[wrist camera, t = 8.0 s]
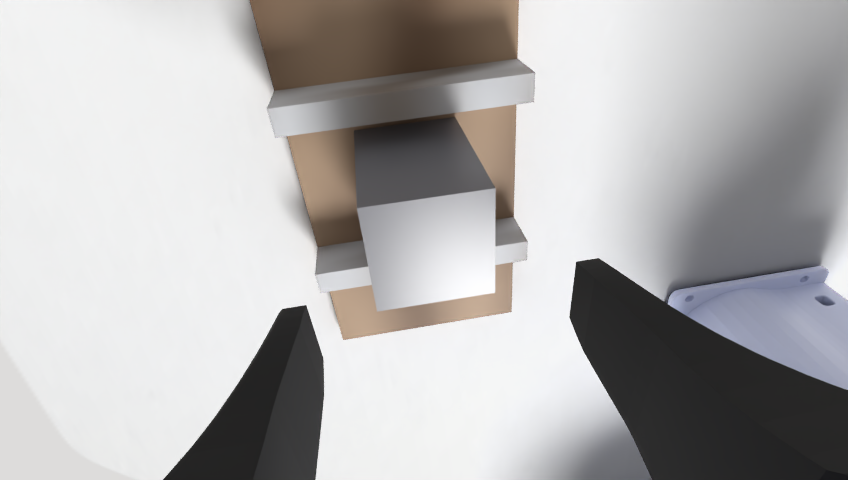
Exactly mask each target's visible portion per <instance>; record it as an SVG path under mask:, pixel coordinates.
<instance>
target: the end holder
mask: <svg viewBox="0 0 848 480" xmlns="http://www.w3.org/2000/svg"><path fill="white" fill-rule="evenodd" d="M250 4H251V7H252V11H253V14H254V18H255V22H256V25H257V29H258V33H259V36H260V40H261V43H262V47H263V51H264V54H265V58H266V62H267V65H268V69H269V72H270V76H271V80H272V83H273V87H274V93H273V96H272V98H271V100H270V103H269V105H268V107H267V111H268V115H269V118H270V122H271V125H272V128H273V132H274V135H275V138H278V137H285V136H287V138H288V141H289V145H290V149H291V152H292V156H293V160H294V163H295V167H296V170H297V174H298V178H299V181H300V185H301V189H302V192H303V196H304V199H305V203H306V207H307V210H308V214H309V218H310V221H311V225H312V229H313V232H314V236H315V239H316V243H317V247H318V249H317V260H316V272H315V276H316V279H317V283H318V286H319V290H320V293H324V292H330V294H331V297H332V301H333V305H334V308H335V312H336V316H337V319H338V323H339V326H340V330H341V334H342V337H343V340H346V339H352V338H358V337H364V336H370V335H376V334H382V333H388V332H394V331H400V330H406V329H412V328H418V327H424V326H430V325H436V324H442V323H448V322H454V321H460V320H466V319H472V318H478V317H484V316H490V315H496V314H502V313H508V312H511V307H512V264H513V262H518V261H524V260H527V243H528V241H527V240H526V238H525V236H524V234H523V233H522V231H521V229H520V227H519V226H518V224H517V222H516V220H515V219H514V179H515V136H516V104H523V103H530V102H534V89H535V72H534V71H532V70H531V69H530V68H529V67H527V66H526V65H525V64H523V63H522V62H521V61H520V60H518V59H517V50H518V7H519V0H250ZM451 117H456V119H457V121H458V123H459V124H460V126H461V128H462V130H463V132H464V133H465V135H466V137H467V139H468V140H469V142H470V144H471V146H472V147H473V149H474V151H475V153H476V155H477V156H478V158H479V160H480V162H481V163H482V165H483V167H484V169H485V170H486V172H487V174H488V176H489V177H490V179H491V181H492V183H493V185H494V186H495V188H496V209H495V293H491V294H484V295H478V296H472V297H466V298H459V299H453V300H447V301H441V302H434V303H428V304H422V305H416V306H409V307H403V308H397V309H391V310H384V311H378V312H377V308H376V303H375V298H374V293H373V288H372V283H371V278H370V273H369V268H368V262H367V257H366V252H365V247H364V242H363V237H362V232H361V227H360V222H359V217H358V212H357V199H356V173H355V147H354V130H362V129H369V128H377V127H384V126H391V125H399V124H406V123H414V122H421V121H429V120H436V119H444V118H451Z"/></svg>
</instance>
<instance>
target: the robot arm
mask: <svg viewBox="0 0 848 480" xmlns="http://www.w3.org/2000/svg"><path fill="white" fill-rule="evenodd" d="M828 273H829V271H828V270H827V269H826V268H824V267H823V266H816V267H810V268H804V269H798V270H792V271H786V272H780V273H774V274H768V275H762V276H756V277H750V278H744V279H738V280H733V281H727V282H721V283H715V284H709V285H703V286H697V287H691V288H685V289H679V290H676V291H674V292H673V293H672V294H671V295H670V297H669V300H668V304H667V303H665V302H664V301H662V300H660V299H659V298H657V297H656V296H654V295H653V294H651V293H650V292H648V291H647V290H645V289H644V288H642V287H641V286H639V285H638V284H636V283H635V282H633V281H632V280H630V279H629V278H627V277H626V276H624V275H623V274H621V273H620V272H619V271H617V270H616V269H614V268H613V267H611V266H610V265H608V264H607V263H605V262H603V261H602V260H600V259H599V258H597V259H591V260H585V261H579V262H576V269H575V277H574V285H573V293H572V301H571V310H570V320H571V322H572V325H573V327H574V330H575V332H576V335H577V337H578V339H579V342H580V344H581V346H582V349H583V351H584V353H585V354H586V356H587V358H588V360H589V361H590V363H591V365H592V367H593V368H594V370H595V372H596V374H597V375H598V377H599V379H600V381H601V382H602V384H603V386H604V387H605V389H606V391H607V393H608V394H609V396H610V398H611V399H612V401H613V403H614V405H615V406H616V408H617V410H618V411H619V413H620V415H621V416H622V418H623V420H624V422H625V423H626V425H627V427H628V429H629V431H630V433H631V435H632V437H633V439H634V441H635V443H636V445H637V447H638V449H639V452H640V454H641V456H642V458H643V460H644V462H645V465H646V467H647V469H648V471H649V473H650V476H651V478H652V480H848V300H846V299H845V298H844V297H842V296H841V295H840V294H838V293H837V292H836V291H834V290H833V289H832V288H830V287H829V286H828V285H826V284H825V283H824V282H825V280H826V278H827V276H828ZM323 400H324V368H323V356H322V353H321V350H320V347H319V344H318V341H317V338H316V335H315V332H314V328H313V325H312V322H311V319H310V316H309V313H308V310H307V307H306V305H305V306H299V307H292V308H286V309H282V310H281V311H280V313H279V314H278V316H277V318H276V320H275V322H274V324H273V325H272V327H271V329H270V331H269V333H268V335H267V336H266V338H265V340H264V342H263V343H262V345H261V347H260V349H259V350H258V352H257V354H256V356H255V357H254V359H253V360H252V362H251V364H250V365H249V367H248V369H247V370H246V372H245V374H244V375H243V377H242V378H241V380H240V381H239V383H238V384H237V386H236V387H235V389H234V390H233V392H232V393H231V395H230V396H229V398H228V399H227V401H226V402H225V403H224V405H223V406H222V408H221V409H220V411H219V412H218V413H217V415H216V416H215V418H214V419H213V420H212V422H211V423H210V424H209V426H208V427H207V428H206V429H205V431H204V432H203V433H202V435H201V436H200V437H199V438H198V440H197V441H196V442H195V443H194V445H193V446H192V447H191V448H190V449H189V451H188V452H187V453H186V454H185V455H184V456H183V458H182V459H181V460H180V461H179V462H178V463H177V465H176V466H175V467H174V468H173V469H172V470H171V471H170V473H169V474H168V475H167V476H166V477H165V478H164V479H163V480H315V477H316V468H317V458H318V449H319V439H320V430H321V420H322V410H323Z"/></svg>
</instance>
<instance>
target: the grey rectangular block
mask: <svg viewBox="0 0 848 480" xmlns="http://www.w3.org/2000/svg"><path fill="white" fill-rule="evenodd" d="M354 147H355V173H356V199H357V212H358V217H359V222H360V227H361V232H362V237H363V242H364V247H365V252H366V257H367V262H368V268H369V273H370V278H371V283H372V288H373V293H374V298H375V303H376V308H377V312H378V311H384V310H391V309H397V308H403V307H409V306H416V305H422V304H428V303H434V302H441V301H447V300H453V299H459V298H466V297H472V296H478V295H484V294H491V293H495V209H496V188H495V186H494V185H493V183H492V181H491V179H490V177H489V176H488V174H487V172H486V170H485V169H484V167H483V165H482V163H481V162H480V160H479V158H478V156H477V155H476V153H475V151H474V149H473V147H472V146H471V144H470V142H469V140H468V139H467V137H466V135H465V133H464V132H463V130H462V128H461V126H460V124H459V123H458V121H457V119H456V117H451V118H444V119H436V120H429V121H421V122H414V123H406V124H399V125H391V126H384V127H377V128H369V129H362V130H354Z"/></svg>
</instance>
